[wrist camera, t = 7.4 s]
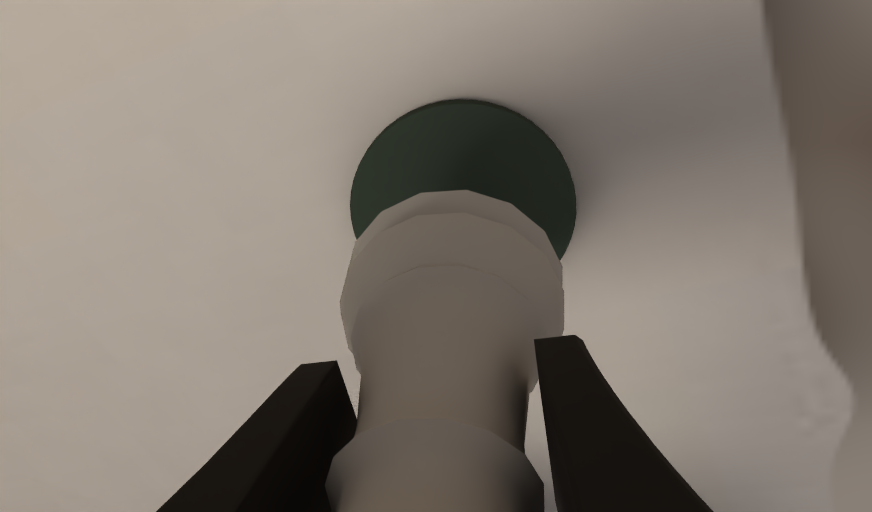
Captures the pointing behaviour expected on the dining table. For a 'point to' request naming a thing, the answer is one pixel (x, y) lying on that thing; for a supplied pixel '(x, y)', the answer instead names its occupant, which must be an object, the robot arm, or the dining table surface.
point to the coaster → (467, 165)
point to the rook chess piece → (445, 356)
